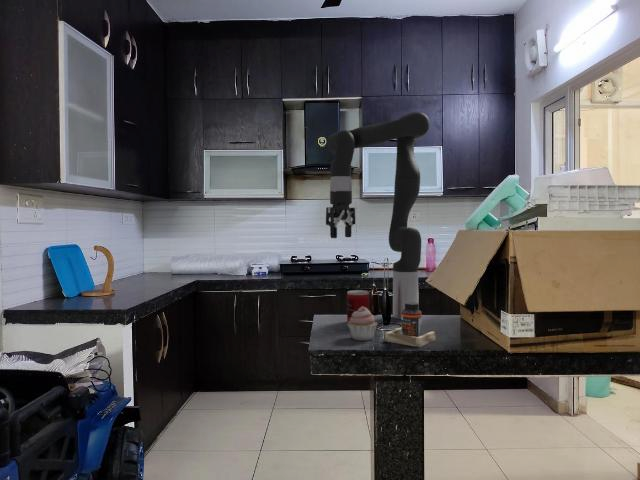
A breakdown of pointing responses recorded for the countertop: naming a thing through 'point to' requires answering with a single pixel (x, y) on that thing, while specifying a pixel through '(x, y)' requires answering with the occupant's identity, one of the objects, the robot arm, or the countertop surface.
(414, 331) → the supplement bottle
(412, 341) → the keeper
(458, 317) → the countertop surface
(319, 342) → the countertop surface
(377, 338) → the countertop surface
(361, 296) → the canned food
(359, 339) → the cupcake
